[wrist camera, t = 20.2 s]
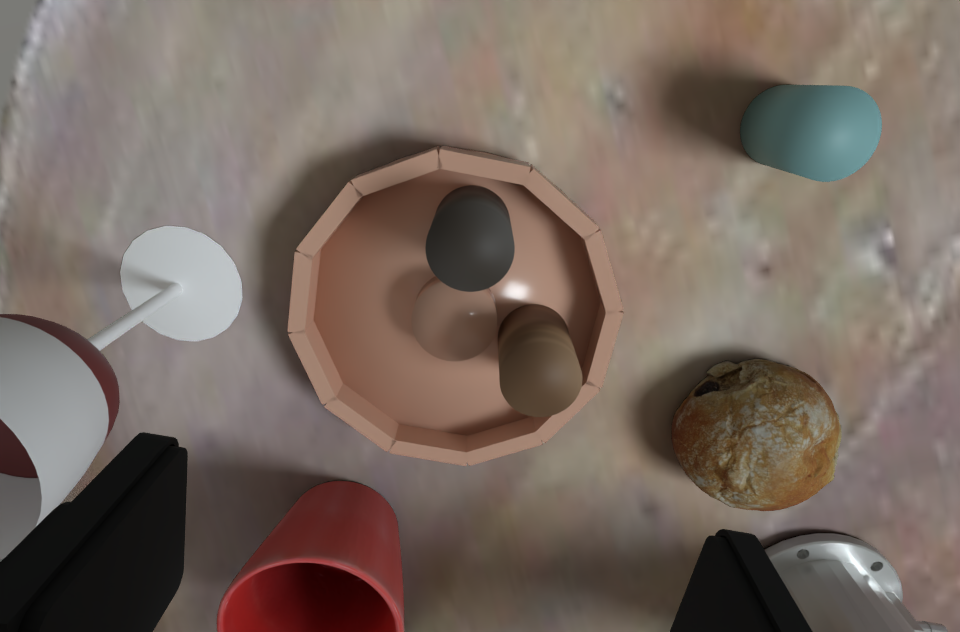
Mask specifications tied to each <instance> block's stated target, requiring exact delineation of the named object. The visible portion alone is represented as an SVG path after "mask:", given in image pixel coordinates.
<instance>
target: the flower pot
mask: <svg viewBox="0 0 960 632" xmlns="http://www.w3.org/2000/svg"><path fill="white" fill-rule="evenodd" d="M217 632H404V596H403V576H402V561H401V550H400V540H399V531H398V522H397V519H396V515H395V513H394V511H393V509H392V508H391V506H390V505H389V503H388V502H387V501H386V500H385V499H384V498H383V497H382V496H381V495H380V494H379V493H377V492H376V491H374V490H373V489H371V488H369V487H367V486H364V485H362V484H359V483H355V482H350V481H332V482H327V483H323V484H320V485H317V486H315V487H313V488H311V489H310V490H308V491H307V492H306V493H304V494H303V495H302V496H301V497H300V498H299V499H298V500H297V502H296V503H295V504H294V505H293V506H292V508H291V509H290V510H289V511H288V513H287V514H286V515H285V516H284V517H283V519H282V520H281V521H280V522H279V523H278V525H277V526H276V527H275V528H274V530H273V531H272V532H271V533H270V534H269V536H268V537H267V538H266V539H265V541H264V542H263V543H262V544H261V546H260V547H259V548H258V549H257V550H256V552H255V553H254V554H253V555H252V557H251V558H250V559H249V560H248V562H247V563H246V564H245V565H244V567H243V568H242V569H241V571H240V572H239V573H238V575H237V576H236V577H235V579H234V580H233V581H232V583H231V584H230V586H229V587H228V589H227V590H226V592H225V594H224V596H223V597H222V600H221V602H220V605H219V609H218V614H217Z"/></svg>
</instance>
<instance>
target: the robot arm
mask: <svg viewBox="0 0 960 632" xmlns="http://www.w3.org/2000/svg"><path fill="white" fill-rule="evenodd" d="M187 457H188V456H187V450H186V449H185V448H181V447H179V444H178V441H177V439H176V438H174V437H168V436H162V435H156V434H150V433H144V432H143V433H139V434H138V435H137V436H136V437H135V438H134V439H133V440H132V441H131V442H130V443H129V444H128V445H127V446H126V447H125V448H124V449H123V450H122V451H121V452H120V453H119V454H118V455H117V456H116V457H115V458H114V459H113V460H112V461H111V462H110V463H109V464H108V465H107V466H106V467H105V468H104V469H103V470H102V471H101V472H100V473H99V474H98V475H97V476H96V477H95V478H94V479H93V480H92V481H91V482H90V483H89V484H88V485H87V487H86V488H85V489H84V490H83V491H82V492H81V493H80V494H79V495H78V496H77V497H76V498H75V499H74V500H73V501H72V502H65V503H62V504H60V505H59V506H57V507H56V508H55V509H54V510H52V511H51V512H50V513H49V514H48V515H47V516H46V517H45V518H44V519H43V520H42V521H41V522H40V523H39V524H38V525H37V526H36V527H35V528H34V529H33V530H32V531H31V532H30V533H29V534H28V535H27V536H26V537H25V538H24V539H23V540H22V541H21V542H20V543H19V544H18V545H17V546H16V547H15V548H14V549H13V550H12V551H11V552H10V553H9V554H8V555H7V556H6V557H5V558H4V559H3V560H2V561H1V562H0V632H153V630H154V628H155V627H156V625H157V623H158V622H159V620H160V618H161V617H162V615H163V613H164V612H165V610H166V608H167V607H168V605H169V603H170V602H171V600H172V598H173V597H174V595H175V594H176V592H177V590H178V588H179V585H180V582H181V579H182V575H183V569H184V544H185V515H186V486H187ZM902 599H903V592H902V586H901V581H900V579H899V577H898V575H897V572H896V571H895V569H894V568H893V567H892V565H891V564H890V563H889V562H888V560H887V559H886V558H885V557H884V556H883V555H882V554H881V553H880V552H879V551H878V550H877V549H876V548H874V547H872V546H871V545H869V544H868V543H866V542H864V541H862V540H859V539H856V538H853V537H851V536H846V535H840V534H834V533H816V534H809V535H802V536H798V537H794V538H791V539H787V540H784V541H781V542H779V543H777V544H775V545H773V546H771V547H769V548H767V549H765V550H764V549H763V547H762V545H761V543H760V542H759V540H758V539H757V538H756V536H755V535H753V534H749V533H743V532H737V531H731V530H725V529H722V530H719V531H718V532H717V533H716V535H715V536H709V537H708V538H707V539H706V541H705V543H704V545H703V548H702V551H701V553H700V556H699V558H698V561H697V563H696V566H695V569H694V571H693V574H692V576H691V579H690V581H689V584H688V586H687V589H686V592H685V594H684V597H683V599H682V602H681V604H680V607H679V610H678V612H677V615H676V617H675V620H674V622H673V625H672V627H671V630H670V632H948V631H947V629H946V627H945V626H944V625H942V624H938V623H932V622H926V621H921V622H920V621H916V620H915V619H914V617H913V616H912V615H911V614H910V612H909V611H908V610H907V609H906V607H905V606H904V605H903V604H902Z"/></svg>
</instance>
